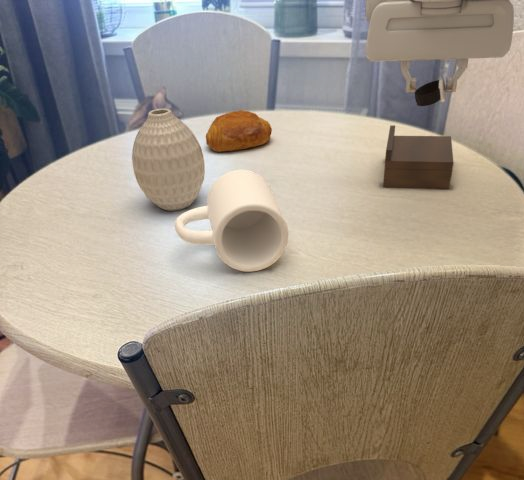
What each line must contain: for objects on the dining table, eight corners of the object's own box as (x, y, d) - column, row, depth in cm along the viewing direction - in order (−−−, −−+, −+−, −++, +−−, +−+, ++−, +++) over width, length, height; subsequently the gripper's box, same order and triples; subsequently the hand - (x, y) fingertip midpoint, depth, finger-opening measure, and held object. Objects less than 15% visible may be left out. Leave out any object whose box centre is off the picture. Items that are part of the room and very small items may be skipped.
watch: (441, 110, 79) (445, 83, 77) (409, 109, 81) (412, 83, 78) (448, 96, 85) (451, 70, 82) (418, 95, 86) (420, 70, 84)
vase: (127, 210, 100) (105, 117, 90) (173, 185, 108) (157, 97, 98) (179, 224, 94) (161, 127, 84) (222, 197, 102) (212, 105, 92)
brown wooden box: (447, 161, 109) (452, 125, 104) (449, 189, 98) (455, 150, 94) (387, 159, 111) (390, 125, 107) (383, 186, 101) (386, 149, 97)
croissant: (275, 157, 123) (279, 121, 118) (208, 157, 119) (209, 120, 114) (261, 136, 133) (264, 102, 128) (199, 136, 130) (200, 101, 125)
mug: (274, 227, 91) (270, 164, 84) (290, 267, 81) (287, 199, 74) (179, 240, 90) (167, 177, 83) (182, 282, 79) (169, 214, 72)
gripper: (364, -10, 73) (360, 98, 81) (526, -20, 68) (503, 95, 77) (368, -16, 77) (363, 87, 86) (519, -25, 73) (498, 84, 82)
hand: (430, 91), depth 82 cm, fingers closed on watch, 4 cm apart
